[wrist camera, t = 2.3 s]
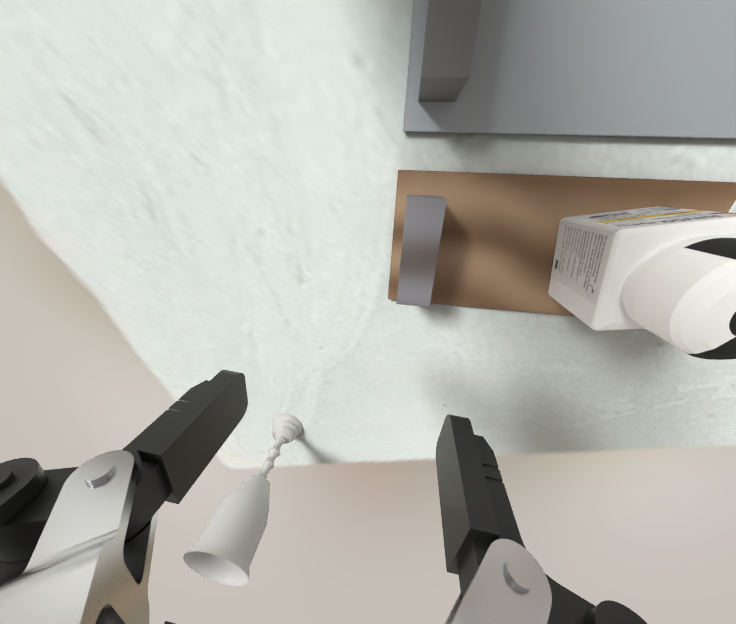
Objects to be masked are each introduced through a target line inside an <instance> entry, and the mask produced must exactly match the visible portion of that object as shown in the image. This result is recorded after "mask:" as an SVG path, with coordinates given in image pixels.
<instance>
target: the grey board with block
mask: <svg viewBox="0 0 736 624" xmlns="http://www.w3.org/2000/svg"><path fill="white" fill-rule="evenodd" d="M403 132H443V133H489V134H535V135H581V136H627V137H673V138H719V139H736V0H414V9H413V21H412V33H411V45H410V57H409V69H408V81H407V93H406V106H405V118H404V130H403Z"/></svg>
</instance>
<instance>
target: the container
mask: <svg viewBox="0 0 736 624" xmlns="http://www.w3.org/2000/svg"><path fill="white" fill-rule="evenodd" d="M548 294H549V295H550V296H551V297H552V298H553V299H555V300H556V301H557V302H558V303H560V304H561V305H562V306H563V307H565V308H566V309H567V310H569V311H570V312H571V313H572V314H574V315H575V316H576V317H578V318H579V319H580V320H581V321H583V322H584V323H585V324H586V325H588V326H589V327H590V328H592V329H593V330H596V331H605V330H627V329H647V330H649V331H650V332H652V333H653V334H655V335H657V336H658V337H660V338H662V339H663V340H665V341H667V342H668V343H670V344H672V345H673V346H675V347H677V348H678V349H680V350H682V351H683V352H685V353H686V354H689V355H691V356H694V357H698V358H703V359H717V360H721V359H736V213H726V212H715V211H704V210H692V209H681V208H670V207H658V206H657V207H648V208H640V209H631V210H623V211H614V212H606V213H597V214H589V215H580V216H572V217H565V218H562V219H561V221H560V224H559V230H558V236H557V242H556V248H555V254H554V260H553V266H552V272H551V278H550V284H549V290H548Z"/></svg>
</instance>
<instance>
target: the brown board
mask: <svg viewBox="0 0 736 624" xmlns="http://www.w3.org/2000/svg"><path fill="white" fill-rule="evenodd" d="M735 200H736V182H709V181H682V180H655V179H629V178H602V177H575V176H548V175H521V174H495V173H468V172H441V171H414V170H398V180H397V193H396V205H395V218H394V231H393V243H392V256H391V268H390V281H389V293H388V299H391V300H397V303H396V304H403V305H414V306H425V307H430V303H436V304H447V305H458V306H469V307H480V308H491V309H502V310H513V311H524V312H535V313H546V314H558V315H569V316H575V315H574V314H572V313H571V312H570V311H569V310H567V309H566V308H565V307H563V306H562V305H561V304H560V303H558V302H557V301H556V300H555V299H553V298H552V297H551V296H550V295H549V294H548V290H549V284H550V278H551V272H552V266H553V260H554V254H555V248H556V242H557V236H558V230H559V224H560V221H561V219H562V218H565V217H572V216H580V215H589V214H597V213H606V212H614V211H623V210H631V209H640V208H648V207H657V206H658V207H670V208H681V209H692V210H704V211H715V212H726V213H728V211H729V210H730V208H731V207H732V205H733V203H734V202H735Z"/></svg>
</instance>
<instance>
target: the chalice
mask: <svg viewBox="0 0 736 624" xmlns="http://www.w3.org/2000/svg"><path fill="white" fill-rule="evenodd" d="M302 429H303V427H302V424H301V423H300V421H299V420H298V419H296V418H295V417H293V416H291V415H287V414H280V415H277V416H276V417H275V418H274V419H273V430H272V434H273V437H274V439H275V440H276V443H275V445H274V446H273V448H270V449H269V457H268V458H267V460H265V461H264V462H263V468H262V471H261V473H260V474H259V475H253V476H251V477H250V478H248V479H247V480H246V481H244V482H243V483H242V484H241V485H240V486H238V487H237V488H236V489H235V490H233V492H231V494H230V495H229V496H227V498H226V499H225V500H224V501H223V502H222V503H221V504H220V505H219V507H218V509H217V510H216V512H215V514H214V516H213V518H212V519H211V521H210V522H209V524H208V526H207V527H206V529H205V531H204V533H203V535H202V536H201V538H200V539H199V541H198V543H197V544H196V545H195V546H193V547H192V548H191V549H190V550H189V551H188V552H187V553H185V555H184V557H183V558H184V561H185V563H186V564H187V565H188V566H189V567H190V568H191V569H193V570H194V571H195V572H197V573H198V574H200V575H202V576H204V577H206V578H208V579H210V580H213V581H215V582H219V583H222V584H226V585H231V586H241V585H245V584H247V582H248V581H249V567H250V564H251V561H252V559H253V556H254V554H255V552H256V549H257V547H258V544H259V542H260V539H261V537H262V535H263V532H264V530H265V527H266V524H267V518H268V510H269V491H270V488H269V487H270V484H269V482H268V480H267V479H266V477H267V473H268V472H269V471H270V469H272V468H273V467H274V464H273V463H274V459H275V458H276V457H277V456H279V455H280V452H279V451H280V447H281V445H282V444H284V443H289V442H291V441H293V440H294V438H296V437H297V436H298V435H299V434H300V433H301V432H302Z"/></svg>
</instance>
